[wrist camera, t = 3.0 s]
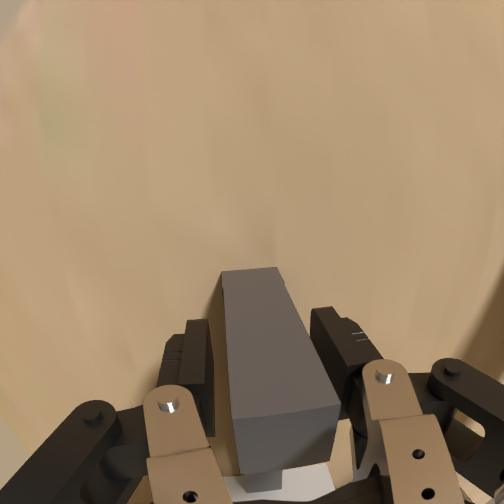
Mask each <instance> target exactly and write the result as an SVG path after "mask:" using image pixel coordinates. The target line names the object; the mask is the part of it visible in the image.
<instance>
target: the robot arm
mask: <svg viewBox="0 0 504 504" xmlns="http://www.w3.org/2000/svg"><path fill="white" fill-rule="evenodd" d="M310 339H311V341H312V343H313V345H314V347H315V350H316V352H317V354H318V356H319V358H320V360H321V362H322V364H323V366H324V368H325V371H326V373H327V375H328V377H329V379H330V381H331V383H332V385H333V387H334V390H335V392H336V394H337V396H338V398H339V400H340V402H341V407H340V413H339V418H338V421H339V420H343V419H348V418H349V419H350V421H351V428H350V444H351V454H352V466H353V482H351V483H348V484H346V485H344V486H342V487H340V488H338V489H336V490H334V491H332V492H330V493H328V494H326V495H323V496H321V497H319V498H317V499H314V500H312V501H280V500H265V499H261V500H251V501H239V502H232V500H231V497H230V495H229V492H228V490H227V487H226V485H225V482H224V480H223V477H222V475H221V472H220V470H219V467H218V464H217V462H216V459H215V456H214V454H213V451H212V449H211V446H209V444H208V441H207V437H215V407H214V362H213V353H212V346H211V339H210V331H209V324H208V319H196V320H187V323H186V330H185V334H174V335H173V336H172V337H171V338H170V339H169V340H168V341H167V342H166V345H165V350H164V354H163V359H162V363H161V368H160V372H159V377H158V382H157V386H156V388H155V389H153V390H152V391H150V392H149V393H148V394H147V395H146V396H145V398H144V401H143V404H142V405H140V406H138V407H135V408H131V409H126V410H122V411H117V412H116V411H115V409H114V407H113V406H112V405H111V404H110V403H108V402H106V401H102V400H92V401H87V402H85V403H82V404H81V405H79V406H78V407H76V408H75V409H74V410H73V411H72V412H71V414H70V415H69V416H68V417H67V418H66V419H65V420H64V421H63V422H62V423H61V424H60V425H59V426H58V427H57V429H56V430H55V431H54V432H53V433H52V434H51V435H50V436H49V437H48V438H47V439H46V440H45V442H44V443H43V444H42V445H41V446H40V447H39V448H38V449H37V450H36V451H35V452H34V454H33V455H32V456H31V457H30V458H29V459H28V460H27V461H26V462H25V463H24V465H23V466H22V467H21V468H20V469H19V470H18V471H17V472H16V473H15V474H14V476H13V477H12V478H11V479H10V480H9V481H8V482H7V483H6V485H5V486H4V487H3V488H2V489H1V490H0V504H126V503H127V502H128V500H129V499H130V497H131V495H132V494H133V492H134V491H135V489H136V487H137V486H138V484H139V483H140V481H141V479H142V478H143V476H144V475H149V481H150V486H151V491H152V496H153V501H154V504H474V503H472V502H469V501H466V500H463V496H462V492H461V489H460V486H459V482H458V479H457V476H456V472H458V473H459V474H460V475H462V476H463V477H464V478H466V479H467V480H468V481H470V482H471V483H472V484H474V485H475V486H477V487H478V488H479V489H481V490H482V491H483V492H485V493H486V494H488V495H489V496H490V497H492V498H494V502H495V504H504V385H503V384H501V383H499V382H498V381H496V380H494V379H492V378H491V377H489V376H487V375H485V374H484V373H482V372H480V371H478V370H477V369H475V368H473V367H471V366H470V365H468V364H466V363H464V362H462V361H460V360H458V359H454V358H443V359H440V360H438V361H436V362H435V363H434V364H433V366H432V369H431V372H430V373H407V371H406V369H405V368H404V367H403V366H402V365H401V364H399V363H398V362H395V361H392V360H387V359H384V358H383V357H382V356H381V354H380V353H379V352H378V350H377V349H376V348H375V346H374V345H373V344H372V342H371V341H370V340H369V339H368V337H367V336H366V334H365V333H363V330H362V329H361V328H360V326H359V325H358V324H357V323H356V322H354V321H352V320H351V319H349V318H347V317H346V318H340V316H339V315H338V314H337V312H336V311H335V309H334V308H333V307H332V306H330V307H322V308H314V309H312V310H311V320H310ZM457 410H460V411H461V412H463V413H464V414H466V415H467V416H469V417H470V418H472V419H473V420H475V421H476V422H478V423H479V424H481V425H482V426H483V427H484V429H485V437H481V436H480V435H478V434H477V433H475V432H474V431H472V430H471V429H469V428H468V427H466V426H465V425H463V424H462V423H460V422H459V421H457V420H456V419H454V416H455V414H456V412H457ZM455 471H456V472H455Z"/></svg>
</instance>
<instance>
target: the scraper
mask: <svg viewBox="0 0 504 504" xmlns="http://www.w3.org/2000/svg"><path fill="white" fill-rule="evenodd" d="M222 290H223V301H224V311H225V325H226V342H227V358H228V373H229V387H230V400H231V413H232V423H233V430H234V437H235V443H236V450H237V456H238V462H239V469H240V474H244V475H242V476H229V477H223V480H224V482H225V485H226V487H227V490H228V492H229V495H230V497H231V500H232V502H239V501H251V500H261V499H265V500H280V501H312V500H314V499H317V498H319V497H321V496H323V495H326V494H328V493H330V492H332V491H334V490H335V488H334V485H333V482H332V479H331V476H330V474H329V471H328V468H327V465H326V463H324V464H319V465H314V466H309V467H303V468H298V469H292V470H285V471H282V470H283V469H290V468H296V467H302V466H307V465H313V464H318V463H323V462H327V461H330V457H331V452H332V448H333V443H334V438H335V433H336V428H337V423H338V418H339V413H340V407H341V402H340V400H339V398H338V396H337V394H336V392H335V390H334V387H333V385H332V383H331V381H330V379H329V377H328V375H327V373H326V371H325V368H324V366H323V364H322V362H321V360H320V358H319V356H318V354H317V352H316V350H315V347H314V345H313V343H312V341H311V339H310V337H309V335H308V333H307V331H306V329H305V327H304V324H303V322H302V320H301V318H300V316H299V314H298V312H297V310H296V308H295V306H294V304H293V302H292V300H291V298H290V296H289V293H288V291H287V289H286V287H285V285H284V281H283V279H282V277H281V275H280V273H279V271H278V269H277V267H271V268H259V269H247V270H235V271H222Z"/></svg>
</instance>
